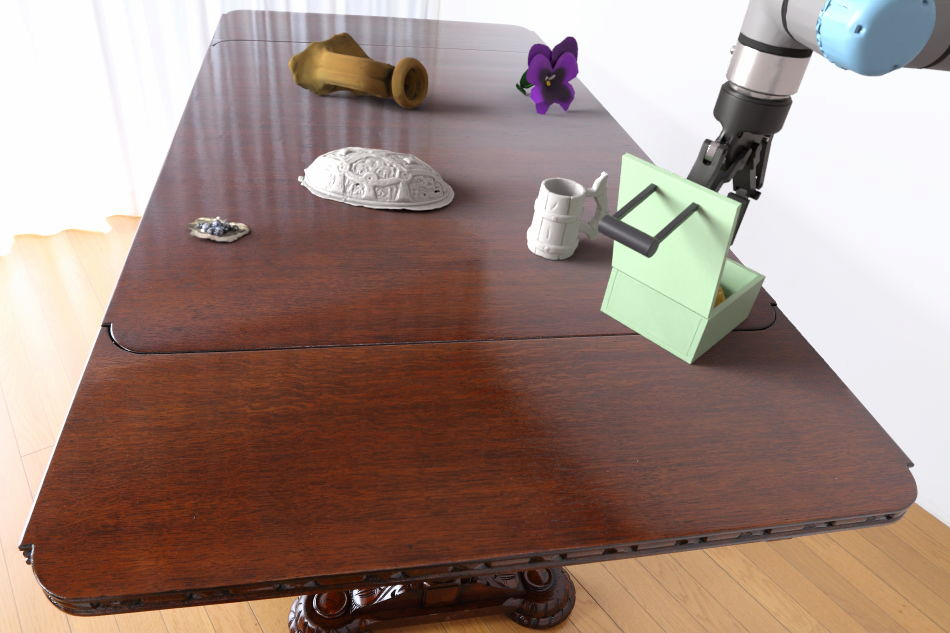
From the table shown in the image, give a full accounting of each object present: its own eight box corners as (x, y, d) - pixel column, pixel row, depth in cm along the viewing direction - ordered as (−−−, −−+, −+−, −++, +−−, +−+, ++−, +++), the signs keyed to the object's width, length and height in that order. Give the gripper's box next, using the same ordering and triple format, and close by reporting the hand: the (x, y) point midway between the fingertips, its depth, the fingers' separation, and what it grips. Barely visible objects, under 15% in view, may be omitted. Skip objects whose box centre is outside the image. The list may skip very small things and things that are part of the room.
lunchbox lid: (626, 152, 73) (568, 197, 69) (742, 203, 66) (685, 256, 62) (615, 262, 85) (565, 306, 81) (711, 315, 78) (662, 366, 74)
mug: (517, 235, 103) (531, 161, 95) (588, 232, 106) (606, 160, 99) (535, 262, 97) (551, 186, 90) (609, 258, 100) (630, 184, 93)
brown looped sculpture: (354, 38, 148) (436, 46, 138) (348, 99, 152) (427, 112, 142) (291, 20, 133) (376, 29, 123) (286, 89, 137) (369, 103, 126)
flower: (498, 122, 153) (535, 114, 142) (489, 52, 149) (526, 38, 138) (549, 116, 160) (587, 107, 149) (540, 49, 157) (580, 35, 145)
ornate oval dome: (447, 217, 103) (449, 174, 100) (285, 199, 104) (283, 156, 101) (459, 183, 116) (462, 144, 113) (316, 167, 117) (314, 129, 114)
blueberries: (187, 221, 95) (185, 209, 93) (247, 217, 97) (246, 205, 96) (189, 246, 90) (187, 234, 89) (252, 241, 93) (251, 229, 91)
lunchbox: (662, 272, 99) (675, 231, 95) (747, 317, 92) (766, 276, 88) (600, 310, 89) (612, 267, 85) (690, 364, 82) (708, 320, 78)
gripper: (774, 63, 82) (716, 217, 95) (668, 95, 67) (616, 275, 79) (835, 82, 79) (766, 240, 91) (737, 121, 63) (671, 305, 75)
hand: (696, 257), depth 85 cm, fingers open, 13 cm apart
